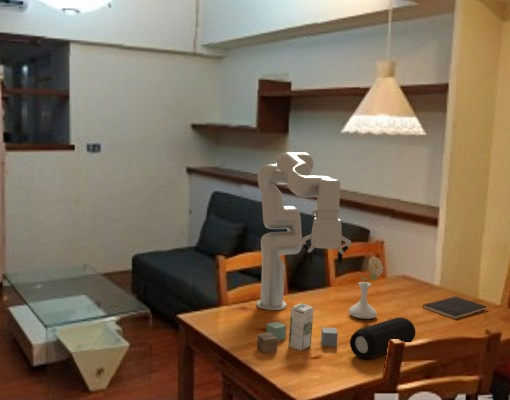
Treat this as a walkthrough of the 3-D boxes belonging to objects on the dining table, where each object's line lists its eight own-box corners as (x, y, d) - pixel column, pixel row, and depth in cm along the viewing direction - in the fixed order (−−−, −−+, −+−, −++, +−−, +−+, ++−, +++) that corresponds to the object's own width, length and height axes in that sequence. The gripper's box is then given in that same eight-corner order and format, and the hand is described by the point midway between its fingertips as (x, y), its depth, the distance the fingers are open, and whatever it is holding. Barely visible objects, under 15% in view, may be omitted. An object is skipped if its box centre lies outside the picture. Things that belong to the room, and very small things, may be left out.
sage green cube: (265, 337, 191) (266, 324, 190) (276, 334, 194) (276, 321, 194) (274, 342, 187) (275, 328, 187) (285, 339, 190) (286, 325, 190)
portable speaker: (369, 365, 172) (372, 336, 171) (346, 354, 180) (348, 326, 178) (416, 347, 188) (418, 320, 186) (393, 338, 195) (395, 312, 194)
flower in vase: (356, 322, 210) (360, 260, 206) (343, 312, 221) (347, 253, 217) (385, 320, 213) (390, 259, 210) (371, 310, 224) (376, 252, 221)
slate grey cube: (320, 340, 190) (321, 327, 190) (334, 341, 190) (335, 328, 190) (322, 346, 185) (323, 332, 185) (336, 347, 185) (337, 333, 185)
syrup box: (297, 341, 188) (299, 302, 186) (311, 346, 184) (313, 306, 182) (288, 346, 184) (290, 306, 182) (302, 351, 180) (304, 310, 178)
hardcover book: (486, 311, 231) (487, 306, 231) (455, 320, 218) (455, 315, 218) (454, 300, 244) (454, 296, 244) (422, 309, 231) (423, 304, 231)
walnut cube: (257, 348, 181) (257, 334, 181) (270, 346, 183) (271, 332, 183) (263, 354, 177) (264, 339, 176) (276, 352, 179) (277, 338, 178)
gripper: (302, 215, 178) (299, 265, 180) (354, 217, 177) (351, 267, 179) (301, 211, 185) (299, 259, 187) (351, 214, 184) (348, 262, 187)
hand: (324, 263), depth 183 cm, fingers open, 9 cm apart
